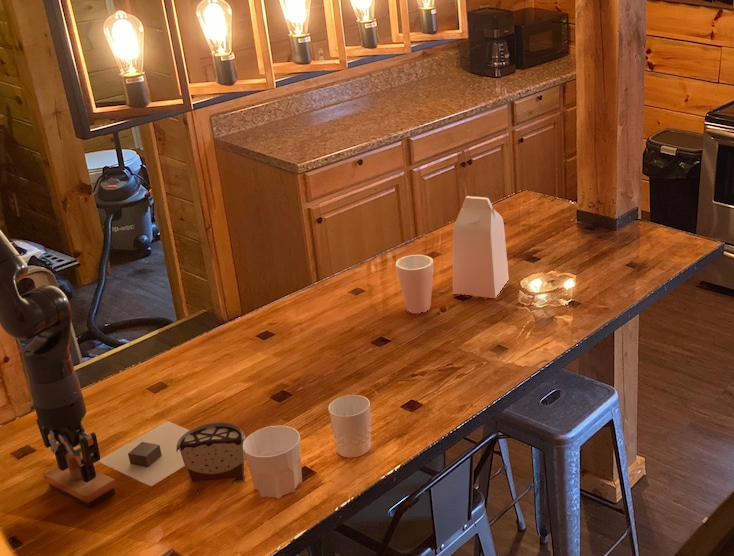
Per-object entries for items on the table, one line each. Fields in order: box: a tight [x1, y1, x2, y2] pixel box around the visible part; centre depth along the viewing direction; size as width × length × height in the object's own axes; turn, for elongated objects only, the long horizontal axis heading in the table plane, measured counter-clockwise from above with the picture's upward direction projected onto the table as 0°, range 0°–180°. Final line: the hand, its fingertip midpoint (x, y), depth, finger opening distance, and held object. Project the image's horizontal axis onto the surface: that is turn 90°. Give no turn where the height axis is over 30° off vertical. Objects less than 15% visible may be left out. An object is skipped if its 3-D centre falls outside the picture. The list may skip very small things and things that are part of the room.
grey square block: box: [128, 442, 162, 467], centre depth 183 cm, size 4×4×2 cm
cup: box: [242, 425, 303, 500], centre depth 176 cm, size 10×10×10 cm
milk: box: [452, 195, 510, 299], centre depth 252 cm, size 12×12×26 cm
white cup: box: [327, 394, 372, 459], centre depth 187 cm, size 8×8×10 cm
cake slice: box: [176, 421, 247, 484], centre depth 179 cm, size 12×6×10 cm, turn 100°
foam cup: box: [395, 254, 435, 314], centre depth 244 cm, size 10×9×13 cm
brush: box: [43, 452, 117, 509], centre depth 174 cm, size 13×6×9 cm, turn 60°
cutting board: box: [96, 420, 191, 487], centre depth 186 cm, size 16×16×1 cm
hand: (77, 473), depth 174 cm, fingers open, 6 cm apart
